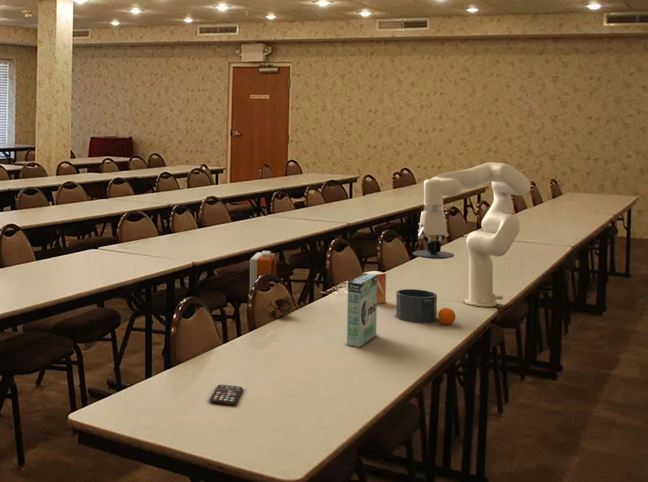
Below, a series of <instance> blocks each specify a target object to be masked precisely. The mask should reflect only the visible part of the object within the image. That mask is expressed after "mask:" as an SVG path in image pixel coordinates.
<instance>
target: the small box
mask: <svg viewBox="0 0 648 482" xmlns="http://www.w3.org/2000/svg"><path fill="white" fill-rule="evenodd" d="M365 273H367V274H375V275H377V305H378V304H384V303H385V304H386V302H387V301H386V297H387V296H386V295H387V294H386V293H387V291H386V289H387V286H386V285H387V273H386V272H383V271H377V270H373V271H366V272H363V273H362V275H363V274H365Z"/></svg>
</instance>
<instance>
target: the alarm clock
mask: <svg viewBox="0 0 648 482" xmlns="http://www.w3.org/2000/svg"><path fill="white" fill-rule="evenodd" d="M267 273H268V274H274V275H275V276H276V277H277V255H276V253H274V252H272V251H270V250H262V251H261V252H259V251H258V252H256V253H255V254H253V256H252V257H251V258H250V260H249V292H250V291H251V289H252V287H253V285H254V283H255V281H256V280H257V279H258V277H259V276H260V275H262V274H267Z"/></svg>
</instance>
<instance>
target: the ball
mask: <svg viewBox="0 0 648 482" xmlns="http://www.w3.org/2000/svg"><path fill="white" fill-rule="evenodd" d="M437 319H438V320H439V322H440V323H442V324H443V325H448V326H449V325H452V324H454V322H455V321H456V313H455V312H454V309H451V308H449V307H443V308H440V310H439V311H438V312H437Z"/></svg>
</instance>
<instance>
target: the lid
mask: <svg viewBox="0 0 648 482" xmlns="http://www.w3.org/2000/svg"><path fill="white" fill-rule="evenodd" d="M431 243H432V252H431V253H430V252H427V250H426V249H425V250H424V249H423V250H422V249H421V250H415V251H413V252H412V255H413V256H415V257H419V258H423V259H428V260H429V259H430V260H446V259H451V258H454V257H455V254H454V253H453V252H449V251H442V250H440V252H437V240H436V239H431Z"/></svg>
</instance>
